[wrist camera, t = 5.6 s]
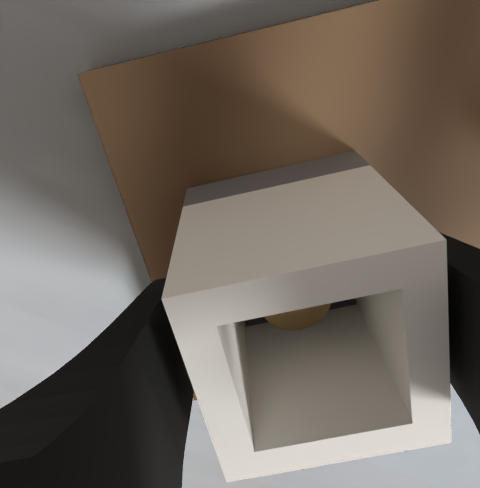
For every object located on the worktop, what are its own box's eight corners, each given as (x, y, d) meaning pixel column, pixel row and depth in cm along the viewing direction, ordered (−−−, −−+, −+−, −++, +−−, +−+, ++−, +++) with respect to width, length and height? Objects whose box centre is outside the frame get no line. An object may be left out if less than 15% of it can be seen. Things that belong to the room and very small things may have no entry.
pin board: (769, -96, 11) (1062, -160, 7) (674, 299, 17) (815, 389, 12) (88, 70, 13) (20, 93, 9) (196, 381, 18) (183, 484, 14)
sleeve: (355, 150, 13) (446, 239, 8) (371, 294, 15) (451, 442, 10) (187, 188, 13) (161, 298, 8) (226, 323, 16) (226, 482, 10)
